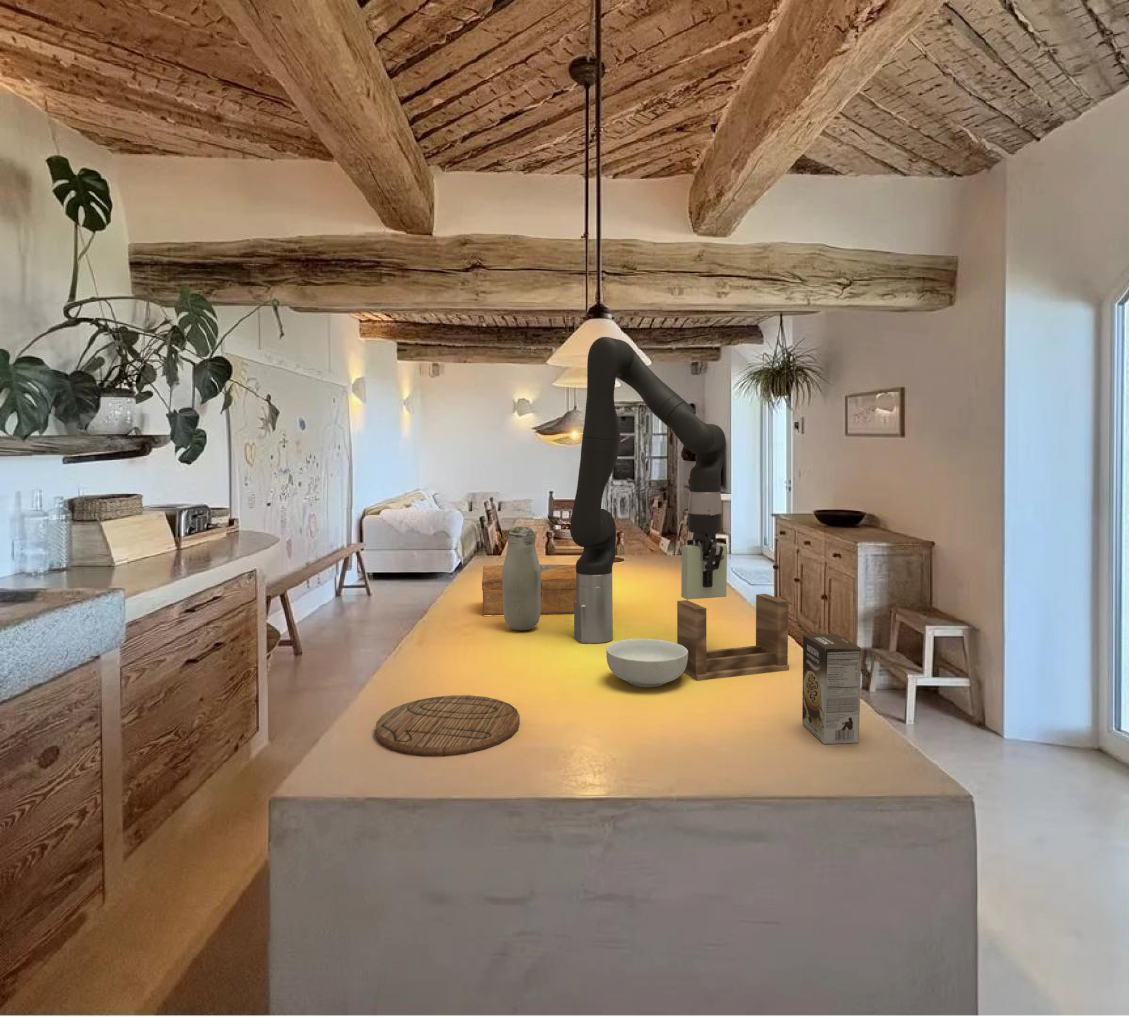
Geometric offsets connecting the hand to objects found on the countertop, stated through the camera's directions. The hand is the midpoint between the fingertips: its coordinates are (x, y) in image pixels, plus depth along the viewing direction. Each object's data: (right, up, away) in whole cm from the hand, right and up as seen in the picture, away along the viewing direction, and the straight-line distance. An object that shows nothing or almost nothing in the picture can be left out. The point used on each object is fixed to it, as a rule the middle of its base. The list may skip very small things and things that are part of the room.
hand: (703, 585), depth 172 cm
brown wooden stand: (+4, -17, -9) cm, 20 cm away
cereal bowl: (-15, -19, -17) cm, 29 cm away
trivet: (-53, -21, -41) cm, 70 cm away
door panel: (0, -3, 0) cm, 3 cm away
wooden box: (-42, -13, +53) cm, 68 cm away
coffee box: (+13, -21, -46) cm, 52 cm away
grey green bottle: (-44, -15, +29) cm, 54 cm away
